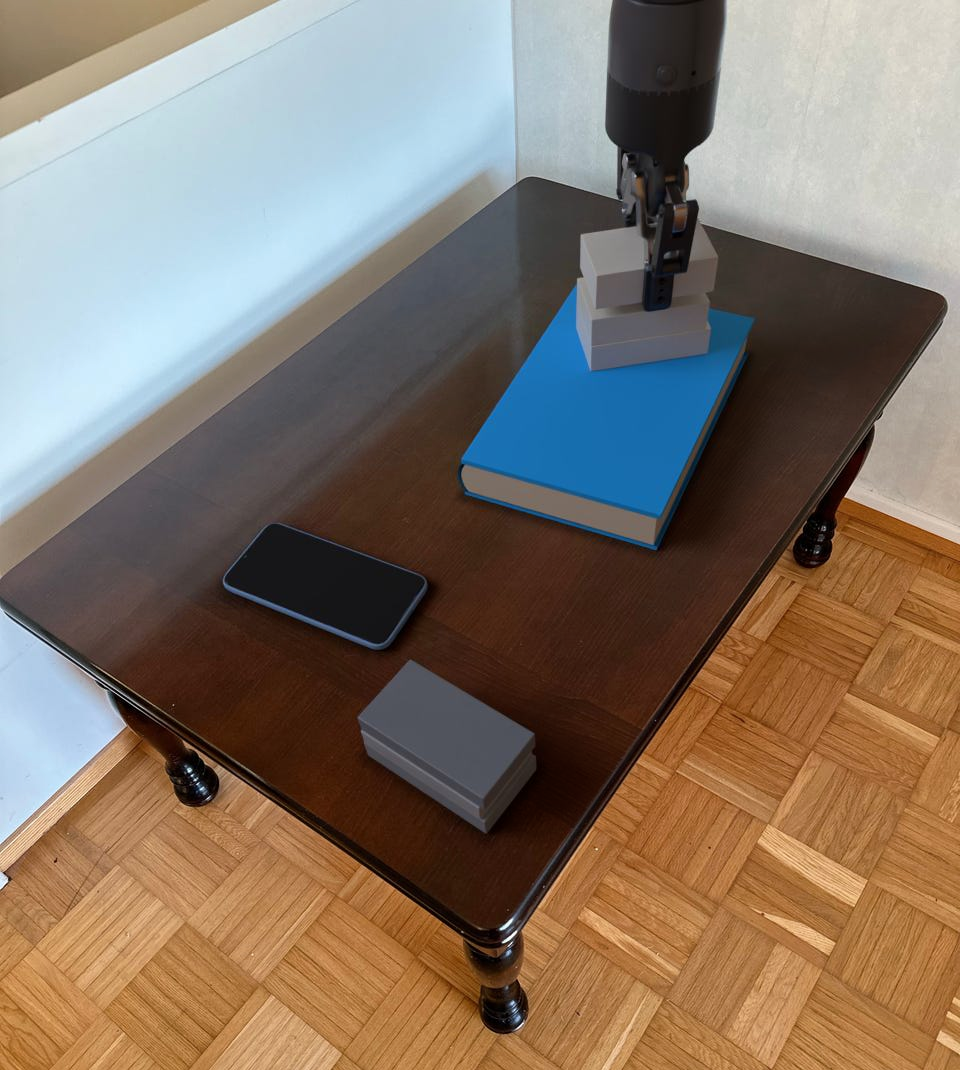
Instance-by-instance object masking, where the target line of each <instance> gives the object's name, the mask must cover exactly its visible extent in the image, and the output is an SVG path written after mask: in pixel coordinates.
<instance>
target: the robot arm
mask: <svg viewBox="0 0 960 1070" xmlns="http://www.w3.org/2000/svg"><path fill="white" fill-rule="evenodd" d="M608 22H609V23H608V35H607V37H608V38H607V65H606V88H605V116H604V117H605V118H604V128H605V133H606V135H607V137H608V139H609V140H610V142H612V143H613V144H614V145H615V146H616V148H617V150H616V151H617V154H616V155H617V156H616V158H617V161H616V163H617V164H616V172H617V173H616V177H617V178H616V191H615V194H616V196H617V199H618V201H622V204H621V209H620V213H621V216H622V219H623V220H624V227H623V228H626V227H627V228H628V227H634V226H637V234H638V236H640V237H642V238H643V240H644V281H643V294H642V305H643V308H644V310H645V311H646V312H652V311H658V310H665V309H667V308H669V307H670V305H671V302H672V293H673V283H674V274H681V273H686V272H687V270H688V264H689V259H690V254H691V249H692V243H693V238H694V233H695V228H696V222H697V217H698V216H699V212H700V205H699V203H698V200H697V199H696V198H694V199H687V191H688V189H689V187H690V167H689V164H688V163H687V162H686V161H685V160H686V157H687V156H688V155H689V154H690V153H691V152H692V151H694V150H695V149H696V148H697V147H699V146H701V145H702V144H703V143H705V142H706V141H707V140H708V139H709V137H710V136H711V135H712V133H713V130H714V125H715V121H716V120H715V119H716V112H717V111H716V110H717V103H718V95H719V90H720V89H719V87H720V80H721V74H722V73H721V72H722V66H723V65H722V64H723V58H724V49H725V42H726V34H727V24H728V0H612V1H611V7H610V12H609V21H608ZM654 218H655V220H654ZM698 218H699V217H698ZM655 221H656V223H657V224H654V223H655ZM649 224H653V225H649ZM654 239H655V241H654Z"/></svg>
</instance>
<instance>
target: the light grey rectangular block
mask: <svg viewBox="0 0 960 1070" xmlns="http://www.w3.org/2000/svg"><path fill="white" fill-rule="evenodd" d="M576 284H577V313H576V329H577V332H578V335H579V338H580V341H581V344H582V347H583V350H584V353H585V356H586V359H587V362H588V365H589V368H590V371H597V370H603V369H610V368H616V367H623V366H629V365H636V364H643V363H649V362H656V361H662V360H669V359H675V358H682V357H689V356H695V355H702V354H707V353H708V346H709V340H710V333H711V328H710V325H709V323H708V321H707V319H708V312H709V309H710V304H711V301H710V299H709V297H708V295H707V294H706V293H707V292H706V293H700V294H693V295H687V296H680V297H674V298H672V302H671V305H670V307H669V308H667V309H665V310H658V311H652V312H646V311H645V310H644V308H643V305H642V302H641V303H634V304H628V305H621V306H615V307H608V308H602V309H595V307H594V304H593V301H592V299H591V296H590V293H589V290H588V288H587V285H586V282H585V280H584V277H583V276H582V277H577V278H576Z"/></svg>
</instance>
